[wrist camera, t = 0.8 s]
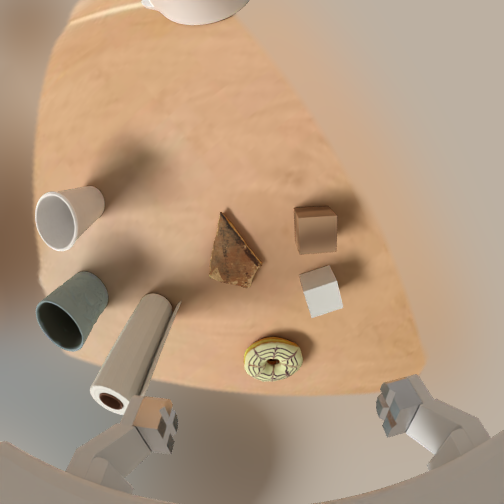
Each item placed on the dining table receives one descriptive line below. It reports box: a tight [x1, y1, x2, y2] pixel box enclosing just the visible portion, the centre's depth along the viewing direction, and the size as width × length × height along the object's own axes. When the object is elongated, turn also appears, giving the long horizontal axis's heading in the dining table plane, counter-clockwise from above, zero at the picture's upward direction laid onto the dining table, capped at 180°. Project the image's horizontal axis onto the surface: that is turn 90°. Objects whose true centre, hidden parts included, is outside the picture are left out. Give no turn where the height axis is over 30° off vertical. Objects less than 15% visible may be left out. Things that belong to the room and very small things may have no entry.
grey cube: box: [299, 265, 343, 318], centre depth 41 cm, size 5×5×5 cm
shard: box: [209, 212, 262, 288], centre depth 41 cm, size 11×8×2 cm
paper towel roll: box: [90, 293, 181, 415], centre depth 36 cm, size 7×6×21 cm
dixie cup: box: [35, 186, 105, 251], centre depth 34 cm, size 8×8×10 cm
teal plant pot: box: [36, 271, 108, 351], centre depth 40 cm, size 10×10×12 cm
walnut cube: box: [294, 206, 337, 255], centre depth 37 cm, size 5×5×5 cm
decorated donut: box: [244, 337, 303, 381], centre depth 48 cm, size 10×11×4 cm
